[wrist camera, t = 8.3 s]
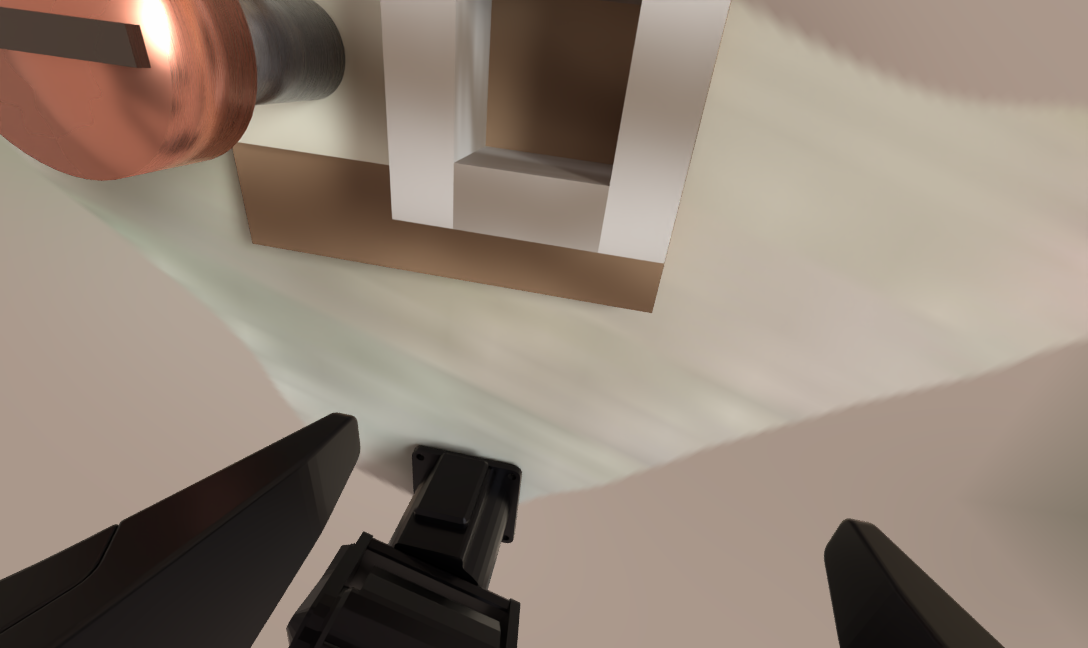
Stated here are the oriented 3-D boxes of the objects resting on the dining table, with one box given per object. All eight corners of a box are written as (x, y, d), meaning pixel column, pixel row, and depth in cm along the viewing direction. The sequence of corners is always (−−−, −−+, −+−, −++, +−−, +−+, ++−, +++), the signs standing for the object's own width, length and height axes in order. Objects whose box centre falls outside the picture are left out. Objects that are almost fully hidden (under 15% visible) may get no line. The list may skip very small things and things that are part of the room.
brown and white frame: (650, 297, 21) (654, 358, 16) (274, 233, 22) (188, 273, 18) (780, -225, 13) (855, -375, 8) (182, -263, 14) (-11, -404, 10)
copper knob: (372, -43, 15) (94, -164, 7) (382, 145, 17) (190, 202, 10) (209, -61, 15) (-211, -192, 8) (244, 124, 18) (-39, 162, 10)
